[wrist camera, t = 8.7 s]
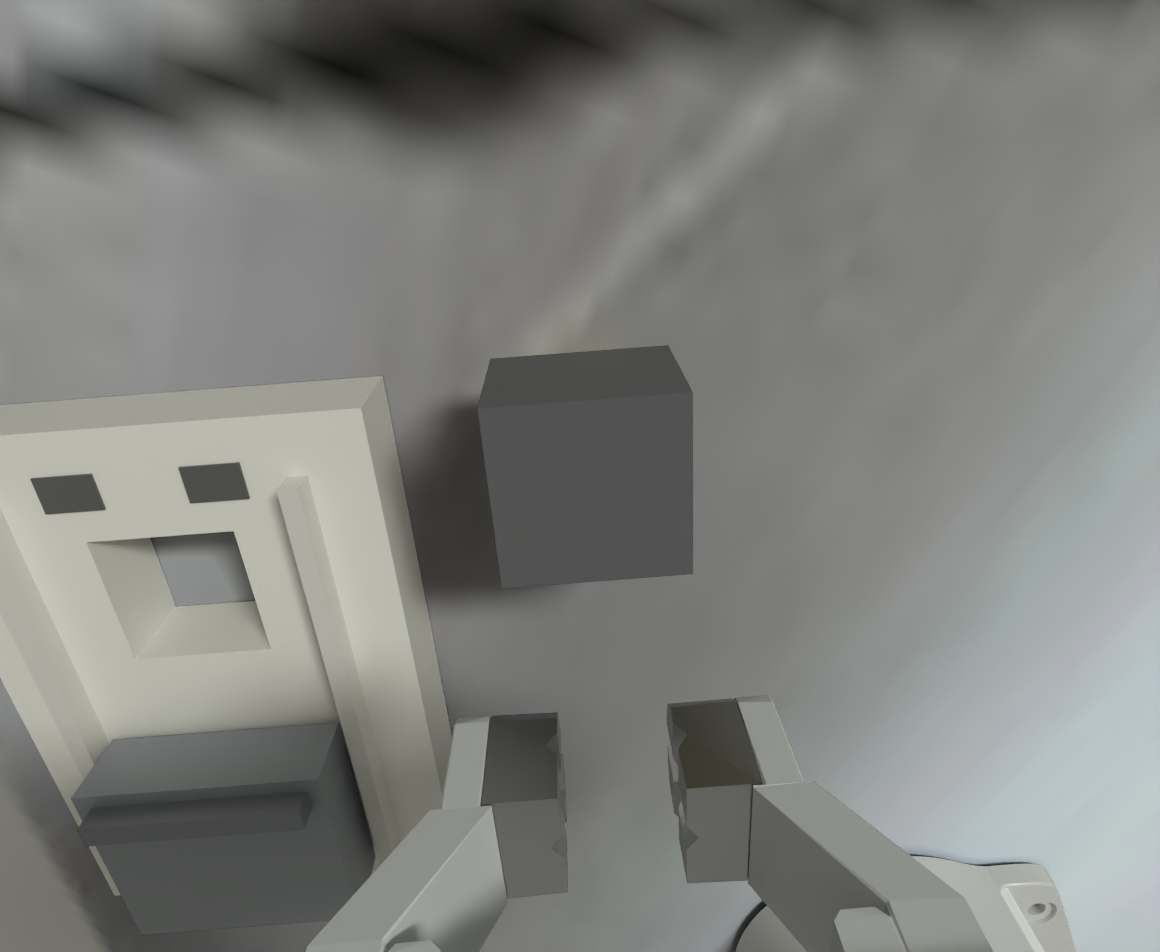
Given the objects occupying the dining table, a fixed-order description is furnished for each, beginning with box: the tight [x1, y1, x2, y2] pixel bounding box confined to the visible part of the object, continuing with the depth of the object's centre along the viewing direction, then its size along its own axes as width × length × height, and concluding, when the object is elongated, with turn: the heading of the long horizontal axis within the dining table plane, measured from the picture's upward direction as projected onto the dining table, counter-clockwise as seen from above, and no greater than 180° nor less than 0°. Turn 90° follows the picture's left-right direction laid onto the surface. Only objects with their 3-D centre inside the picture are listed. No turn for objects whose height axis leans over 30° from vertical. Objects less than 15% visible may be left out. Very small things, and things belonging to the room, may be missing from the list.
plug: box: [477, 345, 693, 589], centre depth 21 cm, size 5×5×7 cm
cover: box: [71, 723, 376, 935], centre depth 26 cm, size 7×8×3 cm
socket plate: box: [0, 376, 452, 896], centre depth 26 cm, size 20×14×4 cm
